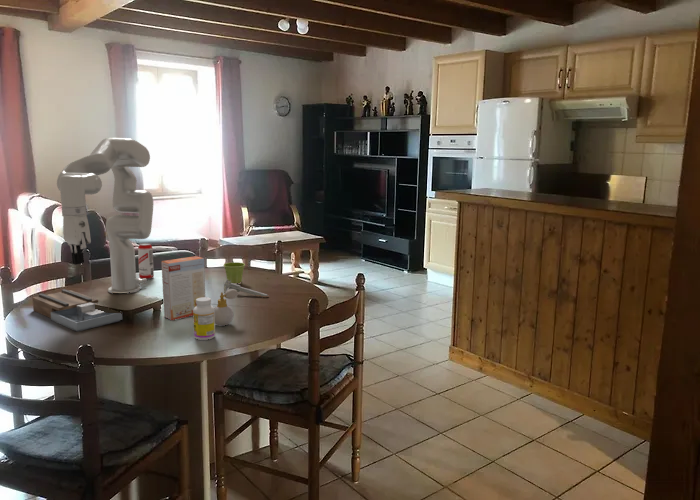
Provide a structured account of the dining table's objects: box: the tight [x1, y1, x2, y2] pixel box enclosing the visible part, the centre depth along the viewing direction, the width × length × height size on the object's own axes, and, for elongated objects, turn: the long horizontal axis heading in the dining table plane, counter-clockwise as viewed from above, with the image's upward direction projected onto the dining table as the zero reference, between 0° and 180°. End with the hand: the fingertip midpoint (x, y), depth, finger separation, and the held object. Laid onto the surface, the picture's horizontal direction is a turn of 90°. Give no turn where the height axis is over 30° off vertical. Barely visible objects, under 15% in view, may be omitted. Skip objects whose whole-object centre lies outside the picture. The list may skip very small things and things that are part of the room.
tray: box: [50, 307, 123, 333], centre depth 194 cm, size 16×18×3 cm
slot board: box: [31, 288, 99, 319], centre depth 202 cm, size 14×20×6 cm
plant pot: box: [222, 261, 246, 284], centre depth 249 cm, size 9×9×9 cm
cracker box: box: [161, 255, 207, 321], centre depth 200 cm, size 14×6×21 cm, turn 135°
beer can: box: [137, 242, 155, 281], centre depth 253 cm, size 6×6×16 cm
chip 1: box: [77, 302, 96, 321], centre depth 194 cm, size 5×5×3 cm
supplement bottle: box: [192, 296, 216, 341], centre depth 179 cm, size 7×7×13 cm
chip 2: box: [84, 309, 106, 321], centre depth 192 cm, size 5×5×3 cm
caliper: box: [223, 279, 268, 296], centre depth 230 cm, size 20×1×6 cm, turn 75°
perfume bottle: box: [214, 288, 239, 327], centre depth 193 cm, size 8×10×12 cm
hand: (78, 263), depth 194 cm, fingers closed
